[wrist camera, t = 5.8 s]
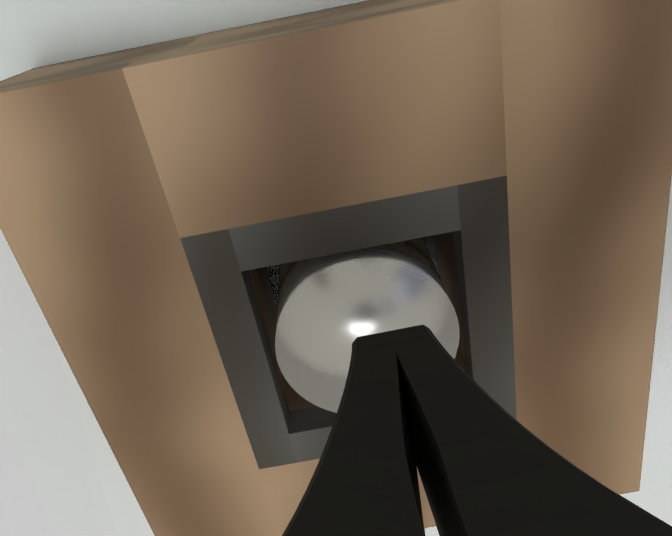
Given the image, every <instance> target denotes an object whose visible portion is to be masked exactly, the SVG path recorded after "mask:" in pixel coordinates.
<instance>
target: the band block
mask: <svg viewBox="0 0 672 536" xmlns="http://www.w3.org/2000/svg"><path fill="white" fill-rule="evenodd" d="M671 175H672V0H369V1H364V2H359V3H354V4H349V5H344V6H339V7H335V8H330V9H325V10H320V11H315V12H310V13H305V14H300V15H295V16H290V17H285V18H280V19H275V20H270V21H265V22H260V23H255V24H250V25H245V26H241V27H236V28H231V29H226V30H221V31H216V32H211V33H206V34H201V35H196V36H191V37H186V38H181V39H176V40H171V41H166V42H161V43H156V44H152V45H147V46H142V47H137V48H132V49H127V50H122V51H117V52H112V53H107V54H102V55H97V56H92V57H87V58H82V59H77V60H72V61H67V62H62V63H58V64H53V65H48V66H43V67H38V68H33V69H31V70H28V71H26V72H23V73H21V74H18V75H15V76H13V77H10V78H8V79H5V80H3V81H0V228H1V230H2V232H3V234H4V236H5V238H6V240H7V242H8V244H9V246H10V248H11V250H12V252H13V254H14V256H15V258H16V260H17V262H18V264H19V266H20V268H21V270H22V272H23V274H24V276H25V278H26V280H27V282H28V284H29V286H30V288H31V290H32V292H33V294H34V296H35V298H36V300H37V302H38V304H39V306H40V308H41V310H42V312H43V314H44V316H45V318H46V320H47V322H48V324H49V326H50V328H51V330H52V332H53V334H54V336H55V338H56V340H57V342H58V344H59V346H60V348H61V350H62V352H63V354H64V356H65V358H66V360H67V362H68V364H69V366H70V368H71V370H72V372H73V374H74V376H75V378H76V380H77V382H78V384H79V386H80V388H81V390H82V392H83V394H84V396H85V398H86V400H87V402H88V404H89V406H90V408H91V410H92V412H93V414H94V415H95V417H96V419H97V421H98V423H99V425H100V427H101V429H102V431H103V433H104V435H105V437H106V439H107V441H108V443H109V445H110V447H111V449H112V451H113V453H114V455H115V457H116V459H117V461H118V463H119V465H120V467H121V469H122V471H123V473H124V475H125V477H126V479H127V481H128V483H129V485H130V487H131V489H132V491H133V493H134V495H135V497H136V499H137V501H138V503H139V505H140V507H141V509H142V511H143V513H144V515H145V517H146V519H147V521H148V523H149V525H150V527H151V529H152V531H153V533H154V535H155V536H282V535H283V533H284V531H285V529H286V527H287V526H288V524H289V522H290V520H291V519H292V517H293V515H294V513H295V511H296V509H297V507H298V505H299V503H300V501H301V499H302V497H303V495H304V493H305V491H306V489H307V487H308V485H309V483H310V481H311V478H312V476H313V474H314V472H315V469H316V467H317V465H318V463H319V460H320V458H321V455H322V452H323V450H324V447H325V445H326V442H327V439H328V437H329V434H330V432H331V429H332V426H333V424H334V421H335V418H336V415H337V413H335V412H332V411H328V410H325V409H323V408H320V407H318V406H316V405H314V404H312V403H311V402H309V401H307V400H306V399H304V398H303V397H302V396H300V395H299V394H298V393H297V392H296V391H295V390H294V389H293V388H292V387H291V386H290V384H289V383H288V382H287V381H286V379H285V377H284V376H283V374H282V372H281V370H280V367H279V365H278V362H277V357H276V352H275V334H276V317H277V306H276V303H275V299H274V295H273V292H272V288H271V284H270V280H269V277H268V273H267V269H266V267H268V266H274V265H279V264H284V263H289V262H295V261H300V260H305V259H311V258H316V257H321V256H326V255H332V254H337V253H342V252H348V251H353V250H358V249H364V248H369V247H374V246H379V245H385V244H390V243H395V242H401V241H406V240H411V239H416V238H422V237H427V236H432V235H436V244H437V253H438V262H439V271H440V279H441V281H442V283H443V285H444V287H445V290H446V292H447V294H448V296H449V298H450V300H451V303H452V305H453V307H454V309H455V312H456V315H457V318H458V323H459V337H460V338H459V345H458V350H457V353H456V357H455V359H454V360H455V361H456V362H457V363H458V364H459V365H460V366H461V367H462V369H463V370H464V371H465V372H466V373H467V374H468V375H469V376H470V377H471V378H472V379H473V380H474V381H475V382H476V383H477V384H478V385H479V386H480V387H481V388H482V389H483V390H484V391H485V392H486V393H487V394H488V395H489V396H490V397H491V398H492V399H494V400H495V401H496V402H497V403H498V404H499V405H500V406H501V407H502V408H503V409H504V410H506V411H507V412H508V413H509V414H510V415H511V416H513V417H514V418H515V419H516V420H517V421H518V422H519V423H521V424H522V425H523V426H524V427H525V428H527V429H528V430H529V431H530V432H531V433H533V434H534V435H535V436H536V437H538V438H539V439H540V440H541V441H543V442H544V443H545V444H546V445H548V446H549V447H550V448H552V449H553V450H554V451H556V452H557V453H559V454H560V455H561V456H563V457H564V458H565V459H567V460H568V461H569V462H571V463H572V464H573V465H575V466H576V467H578V468H579V469H581V470H582V471H584V472H585V473H587V474H588V475H590V476H591V477H592V478H594V479H595V480H597V481H598V482H600V483H601V484H603V485H604V486H606V487H607V488H609V489H610V490H612V491H614V492H615V493H617V494H624V493H630V492H636V491H639V488H640V478H641V468H642V459H643V449H644V439H645V429H646V419H647V410H648V400H649V390H650V380H651V370H652V361H653V351H654V341H655V331H656V322H657V312H658V302H659V292H660V282H661V273H662V263H663V253H664V243H665V233H666V224H667V214H668V204H669V194H670V185H671ZM417 474H418V482H419V490H420V498H421V506H422V514H423V522H424V528H428V527H434V526H436V523H435V520H434V517H433V514H432V511H431V508H430V505H429V502H428V499H427V496H426V493H425V490H424V487H423V484H422V481H421V478H420V475H419V472H418V469H417Z"/></svg>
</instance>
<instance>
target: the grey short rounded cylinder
mask: <svg viewBox="0 0 672 536" xmlns="http://www.w3.org/2000/svg"><path fill="white" fill-rule="evenodd" d="M418 325H425V326H426V327H428V328H430V330H431V331H432V333H433V334H434V335H435V337H436V338H437V339H438V341H439V342H440V343H441V344H442V346H443V347H444V348H445V349H446V351H447V352H448V353H449V354H450V355H451V356H452V357H453V359H455V357H456V353H457V350H458V345H459V338H460V337H459V323H458V318H457V315H456V312H455V309H454V307H453V305H452V303H451V300H450V298H449V296H448V294H447V292H446V290H445V287H444V285H443V283H442V281H441V279H440V277H439V274H438V272H437V270H436V268H435V266H434V263H433V261H432V259H431V257H430V255H429V253H428V250H427V248H426V246H425V244H424V242H423V239H422V238H416V239H411V240H406V241H401V242H395V243H390V244H385V245H379V246H374V247H369V248H364V249H358V250H353V251H348V252H342V253H337V254H332V255H326V256H321V257H316V258H311V259H305V260H300V261H295V262H289V263H284V264H280V265H279V283H278V300H277V317H276V334H275V352H276V357H277V362H278V365H279V367H280V370H281V372H282V374H283V376H284V377H285V379H286V381H287V382H288V383H289V384H290V386H291V387H292V388H293V389H294V390H295V391H296V392H297V393H298V394H299V395H300V396H302V397H303V398H304V399H306V400H307V401H309V402H311V403H312V404H314V405H316V406H318V407H320V408H323V409H325V410H328V411H332V412H335V413H337V411H338V408H339V405H340V401H341V398H342V395H343V391H344V388H345V384H346V379H347V375H348V371H349V366H350V360H351V353H352V343H353V342H354V340H355V339H356V338H357V337H361V336H366V335H371V334H376V333H381V332H387V331H392V330H397V329H402V328H407V327H412V326H418Z"/></svg>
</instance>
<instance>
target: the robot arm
mask: <svg viewBox="0 0 672 536" xmlns="http://www.w3.org/2000/svg"><path fill="white" fill-rule="evenodd" d="M417 469H418V472H419V475H420V478H421V481H422V484H423V487H424V490H425V493H426V496H427V499H428V502H429V505H430V508H431V511H432V514H433V517H434V520H435V523H436V526H437V529H438V532H439V535H440V536H672V526H670V525H668V524H667V523H665V522H663V521H662V520H660V519H658V518H657V517H655V516H653V515H652V514H650V513H648V512H647V511H645V510H643V509H642V508H640V507H639V506H637V505H635V504H634V503H632V502H630V501H629V500H627V499H625V498H624V497H622V496H620V495H619V494H617V493H615V492H614V491H612V490H610V489H609V488H607V487H606V486H604V485H603V484H601V483H600V482H598V481H597V480H595V479H594V478H592V477H591V476H590V475H588V474H587V473H585V472H584V471H582V470H581V469H579V468H578V467H576V466H575V465H573V464H572V463H571V462H569V461H568V460H567V459H565V458H564V457H563V456H561V455H560V454H559V453H557V452H556V451H554V450H553V449H552V448H550V447H549V446H548V445H546V444H545V443H544V442H543V441H541V440H540V439H539V438H538V437H536V436H535V435H534V434H533V433H531V432H530V431H529V430H528V429H527V428H525V427H524V426H523V425H522V424H521V423H519V422H518V421H517V420H516V419H515V418H514V417H513V416H511V415H510V414H509V413H508V412H507V411H506V410H504V409H503V408H502V407H501V406H500V405H499V404H498V403H497V402H496V401H495V400H494V399H492V398H491V397H490V396H489V395H488V394H487V393H486V392H485V391H484V390H483V389H482V388H481V387H480V386H479V385H478V384H477V383H476V382H475V381H474V380H473V379H472V378H471V377H470V376H469V375H468V374H467V373H466V372H465V371H464V370H463V369H462V367H461V366H460V365H459V364H458V363H457V362H456V361H455V360H454V359H453V357H452V356H451V355H450V354H449V353H448V352H447V351H446V349H445V348H444V347H443V346H442V344H441V343H440V342H439V341H438V339H437V338H436V337H435V335H434V334H433V333H432V331H431V330H430V328H428V327H426V326H425V325H418V326H412V327H407V328H402V329H397V330H392V331H387V332H381V333H376V334H371V335H366V336H361V337H357V338H356V339H355V340H354V342H353V343H352V353H351V360H350V366H349V371H348V375H347V379H346V384H345V388H344V391H343V395H342V398H341V401H340V405H339V408H338V411H337V415H336V418H335V421H334V424H333V426H332V429H331V432H330V434H329V437H328V439H327V442H326V445H325V447H324V450H323V452H322V455H321V458H320V460H319V463H318V465H317V467H316V469H315V472H314V474H313V476H312V478H311V481H310V483H309V485H308V487H307V489H306V491H305V493H304V495H303V497H302V499H301V501H300V503H299V505H298V507H297V509H296V511H295V513H294V515H293V517H292V519H291V520H290V522H289V524H288V526H287V527H286V529H285V531H284V533H283V535H282V536H425V530H424V522H423V514H422V506H421V498H420V490H419V482H418V474H417Z"/></svg>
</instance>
